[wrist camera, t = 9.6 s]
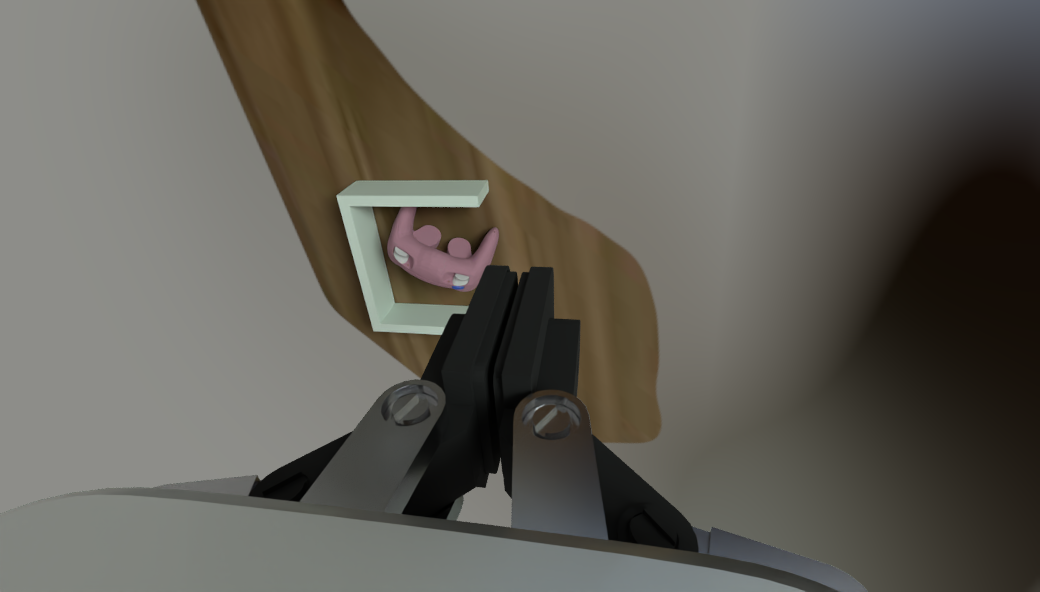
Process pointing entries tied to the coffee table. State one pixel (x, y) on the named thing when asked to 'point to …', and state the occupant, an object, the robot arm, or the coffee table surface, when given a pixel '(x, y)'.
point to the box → (370, 254)
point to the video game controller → (438, 254)
